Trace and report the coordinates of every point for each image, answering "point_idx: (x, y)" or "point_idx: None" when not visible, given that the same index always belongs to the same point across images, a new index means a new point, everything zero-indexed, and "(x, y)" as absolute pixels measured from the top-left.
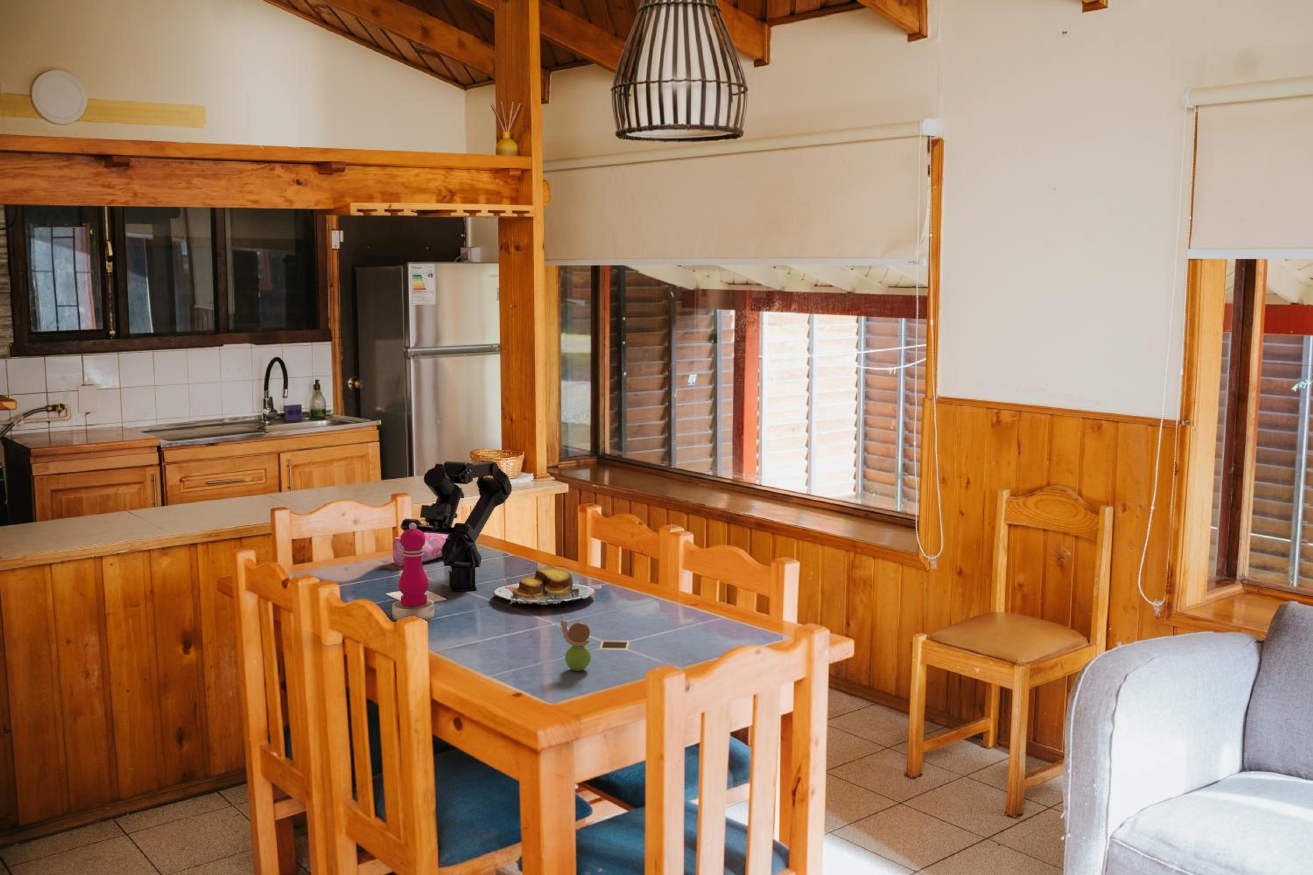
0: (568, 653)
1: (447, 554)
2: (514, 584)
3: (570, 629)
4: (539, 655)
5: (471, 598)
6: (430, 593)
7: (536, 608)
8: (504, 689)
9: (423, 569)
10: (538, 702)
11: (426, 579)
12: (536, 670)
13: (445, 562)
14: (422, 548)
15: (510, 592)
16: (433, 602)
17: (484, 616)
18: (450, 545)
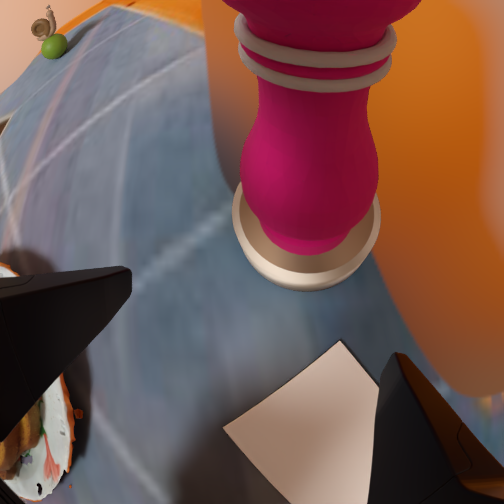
0: (61, 34)
1: (87, 272)
2: (49, 491)
3: (47, 20)
4: (75, 70)
5: (143, 433)
6: (293, 493)
7: None
8: (139, 5)
9: (255, 126)
10: (119, 2)
11: (243, 147)
12: (95, 39)
13: (130, 280)
14: (244, 28)
15: (50, 445)
16: (236, 230)
17: (102, 235)
18: (22, 286)
